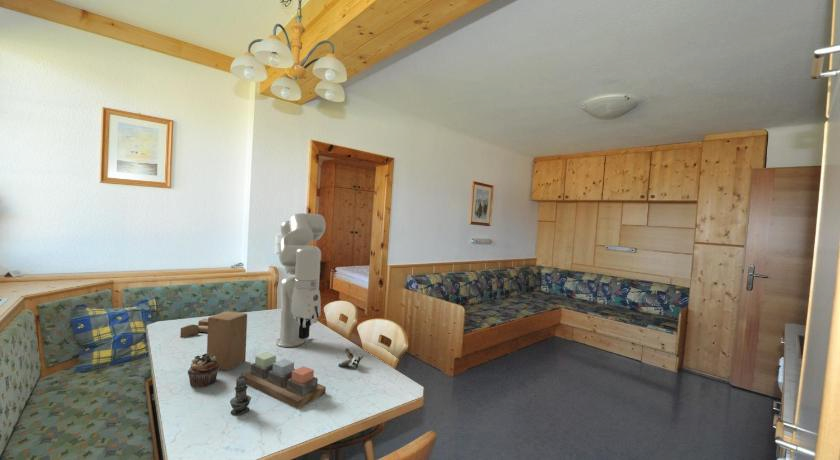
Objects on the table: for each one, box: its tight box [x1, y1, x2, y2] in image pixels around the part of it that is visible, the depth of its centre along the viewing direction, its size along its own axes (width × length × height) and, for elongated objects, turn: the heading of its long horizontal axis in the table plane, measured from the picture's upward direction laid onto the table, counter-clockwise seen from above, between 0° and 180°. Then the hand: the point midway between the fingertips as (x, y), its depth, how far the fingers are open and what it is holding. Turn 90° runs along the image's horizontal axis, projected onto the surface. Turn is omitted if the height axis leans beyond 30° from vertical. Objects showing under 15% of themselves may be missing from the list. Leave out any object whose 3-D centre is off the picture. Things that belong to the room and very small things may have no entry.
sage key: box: [254, 351, 277, 369], centre depth 129 cm, size 5×5×4 cm
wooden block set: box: [179, 318, 208, 338], centre depth 173 cm, size 17×6×18 cm
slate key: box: [273, 358, 295, 376], centre depth 123 cm, size 5×5×4 cm
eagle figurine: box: [338, 348, 364, 369], centre depth 144 cm, size 8×7×9 cm
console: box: [242, 362, 327, 410], centre depth 124 cm, size 12×30×6 cm, turn 59°
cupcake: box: [187, 353, 220, 389], centre depth 124 cm, size 10×10×10 cm
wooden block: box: [206, 310, 248, 372], centre depth 139 cm, size 10×10×20 cm
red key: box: [292, 365, 315, 385], centre depth 118 cm, size 5×5×4 cm
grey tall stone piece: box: [229, 372, 252, 417], centre depth 108 cm, size 6×6×12 cm
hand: (303, 337), depth 119 cm, fingers closed
